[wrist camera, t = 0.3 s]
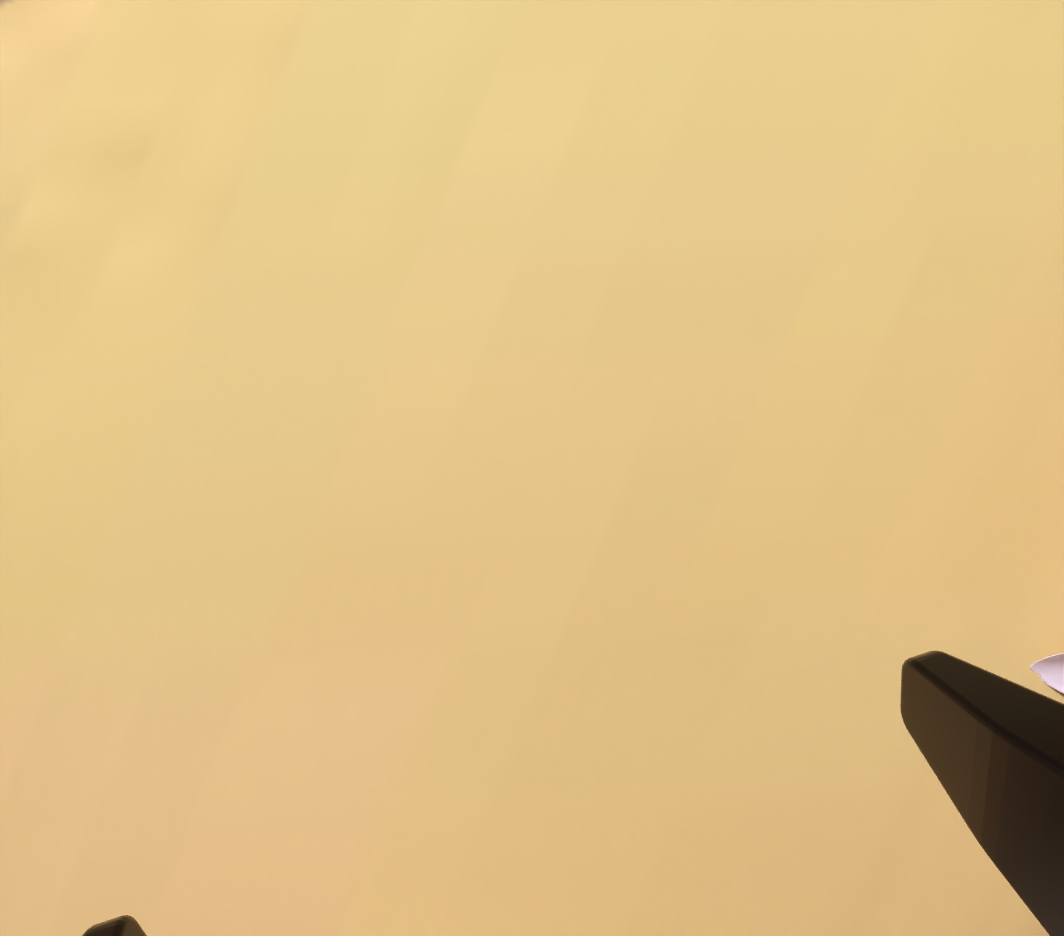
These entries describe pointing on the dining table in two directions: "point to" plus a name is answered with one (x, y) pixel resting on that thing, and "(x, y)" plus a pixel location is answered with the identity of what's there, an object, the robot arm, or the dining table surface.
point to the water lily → (1051, 671)
